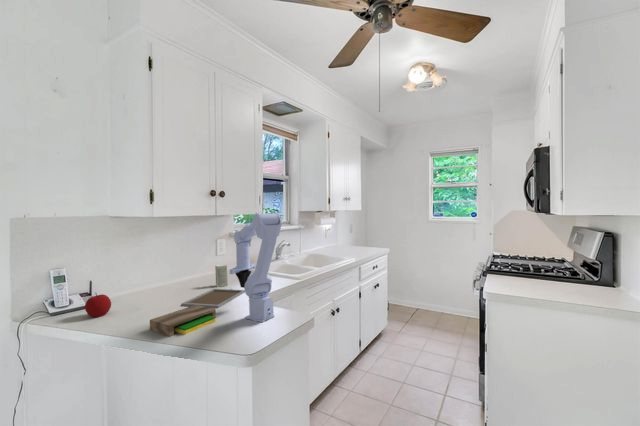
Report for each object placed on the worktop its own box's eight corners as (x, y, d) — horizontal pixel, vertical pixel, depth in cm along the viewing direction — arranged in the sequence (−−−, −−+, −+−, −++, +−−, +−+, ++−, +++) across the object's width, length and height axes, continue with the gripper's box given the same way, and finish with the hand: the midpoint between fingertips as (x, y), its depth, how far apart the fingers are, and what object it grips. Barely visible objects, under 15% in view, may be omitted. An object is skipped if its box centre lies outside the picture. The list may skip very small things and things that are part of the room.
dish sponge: (172, 332, 108) (172, 325, 108) (203, 319, 120) (203, 313, 120) (184, 335, 104) (184, 329, 104) (215, 322, 116) (215, 316, 116)
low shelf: (215, 318, 120) (215, 308, 120) (169, 336, 103) (169, 325, 103) (196, 313, 126) (196, 304, 126) (149, 330, 109) (149, 319, 109)
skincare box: (226, 284, 177) (226, 264, 177) (227, 285, 173) (227, 265, 173) (215, 285, 174) (215, 265, 174) (216, 287, 170) (216, 266, 170)
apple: (112, 315, 125) (112, 292, 125) (85, 321, 119) (85, 296, 119) (110, 310, 132) (109, 288, 132) (84, 315, 126) (84, 291, 126)
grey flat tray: (180, 303, 137) (216, 287, 166) (180, 307, 137) (216, 290, 166) (218, 305, 133) (247, 288, 162) (218, 309, 133) (247, 291, 162)
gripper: (247, 254, 141) (248, 282, 141) (224, 258, 128) (224, 289, 128) (259, 255, 137) (259, 284, 137) (236, 259, 125) (236, 291, 125)
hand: (243, 287), depth 133 cm, fingers closed
